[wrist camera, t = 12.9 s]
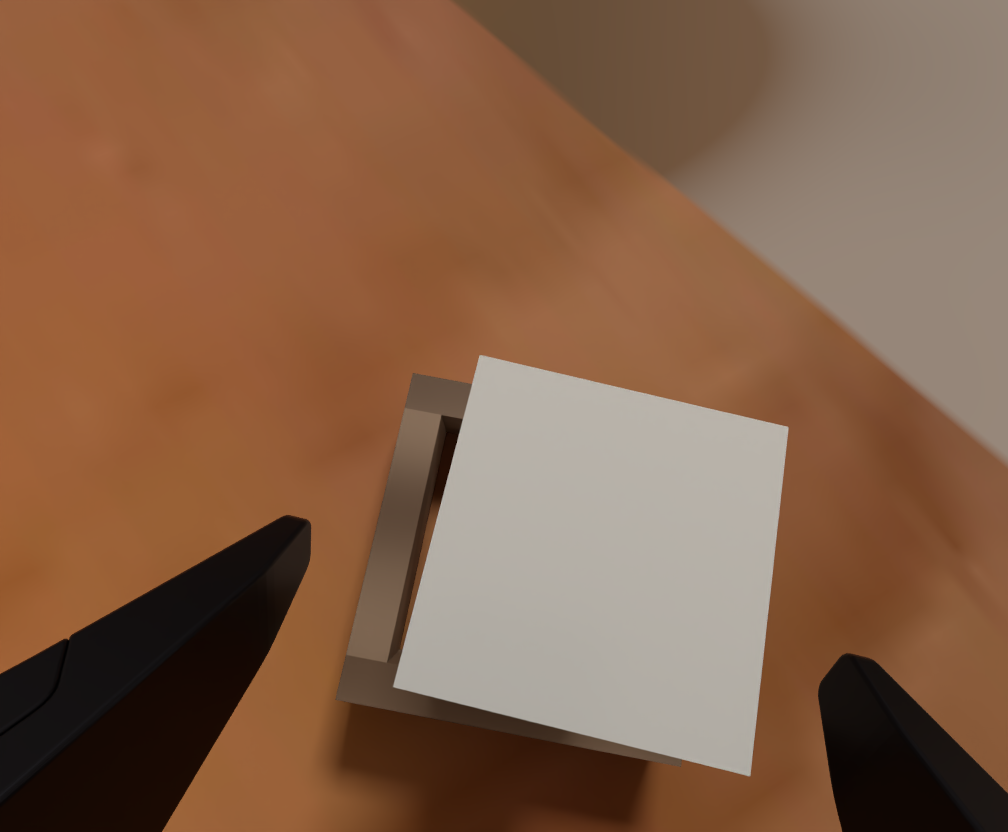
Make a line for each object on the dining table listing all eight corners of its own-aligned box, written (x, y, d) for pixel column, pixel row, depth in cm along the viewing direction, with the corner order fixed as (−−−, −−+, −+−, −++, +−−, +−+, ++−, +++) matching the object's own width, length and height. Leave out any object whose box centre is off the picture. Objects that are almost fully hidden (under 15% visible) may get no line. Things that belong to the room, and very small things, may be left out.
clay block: (580, 638, 19) (750, 776, 7) (450, 606, 19) (392, 687, 7) (605, 507, 20) (788, 426, 8) (482, 478, 20) (479, 354, 8)
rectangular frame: (654, 739, 18) (680, 766, 16) (354, 681, 18) (335, 699, 16) (685, 444, 21) (712, 428, 18) (421, 394, 21) (412, 373, 18)
